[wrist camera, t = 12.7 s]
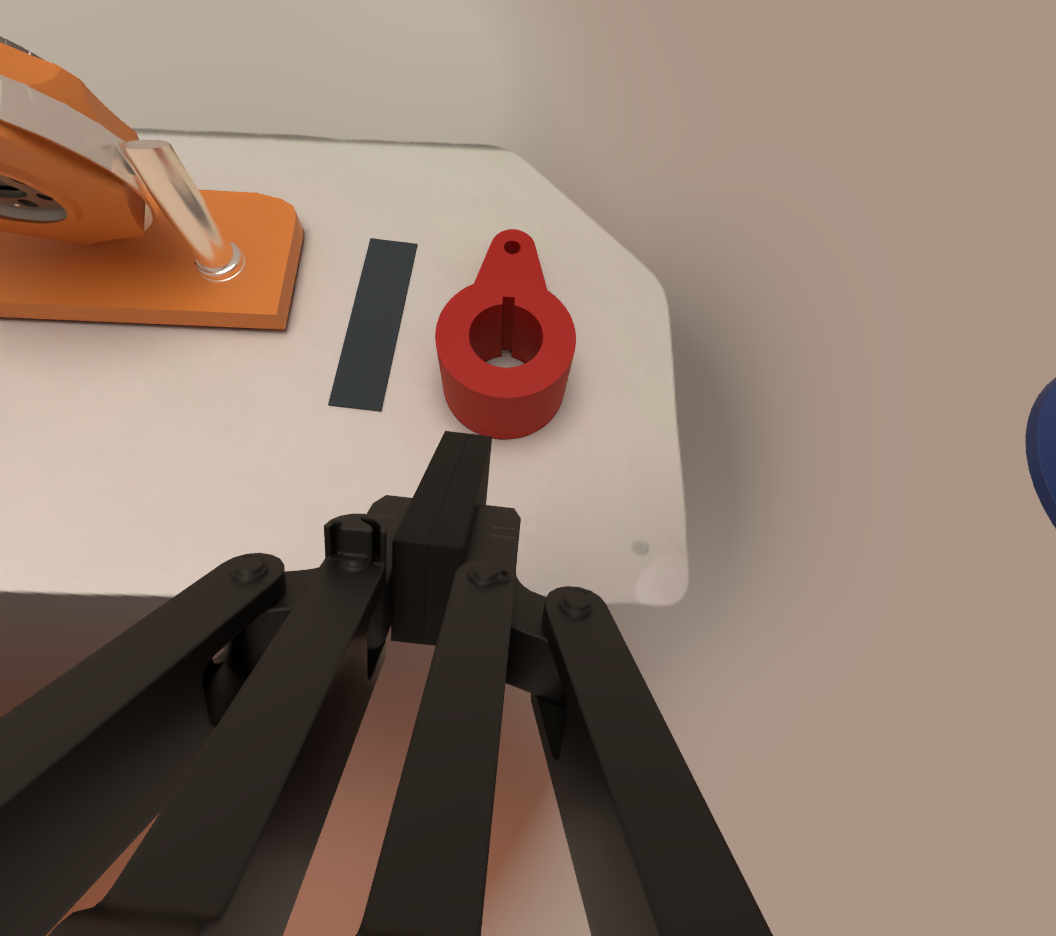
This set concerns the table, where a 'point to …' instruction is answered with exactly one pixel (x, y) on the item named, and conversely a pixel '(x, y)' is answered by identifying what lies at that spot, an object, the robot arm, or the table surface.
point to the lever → (505, 344)
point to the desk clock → (124, 219)
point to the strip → (373, 326)
